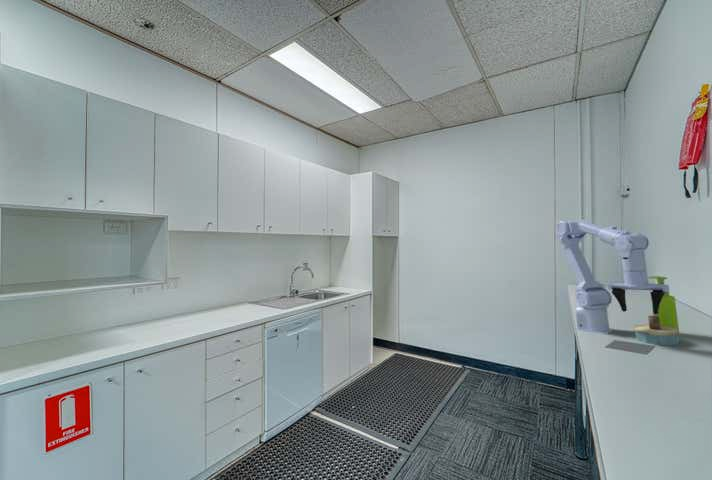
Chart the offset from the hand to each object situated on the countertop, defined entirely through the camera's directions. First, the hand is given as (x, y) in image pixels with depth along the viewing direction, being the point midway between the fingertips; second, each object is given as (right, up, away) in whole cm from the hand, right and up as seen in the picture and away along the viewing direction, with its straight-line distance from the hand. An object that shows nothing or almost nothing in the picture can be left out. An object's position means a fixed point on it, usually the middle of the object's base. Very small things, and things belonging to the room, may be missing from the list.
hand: (639, 312), depth 98 cm
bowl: (+7, -10, +1) cm, 12 cm away
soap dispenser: (+17, -10, +8) cm, 21 cm away
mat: (-5, -11, -2) cm, 12 cm away
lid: (+6, -6, +1) cm, 9 cm away
